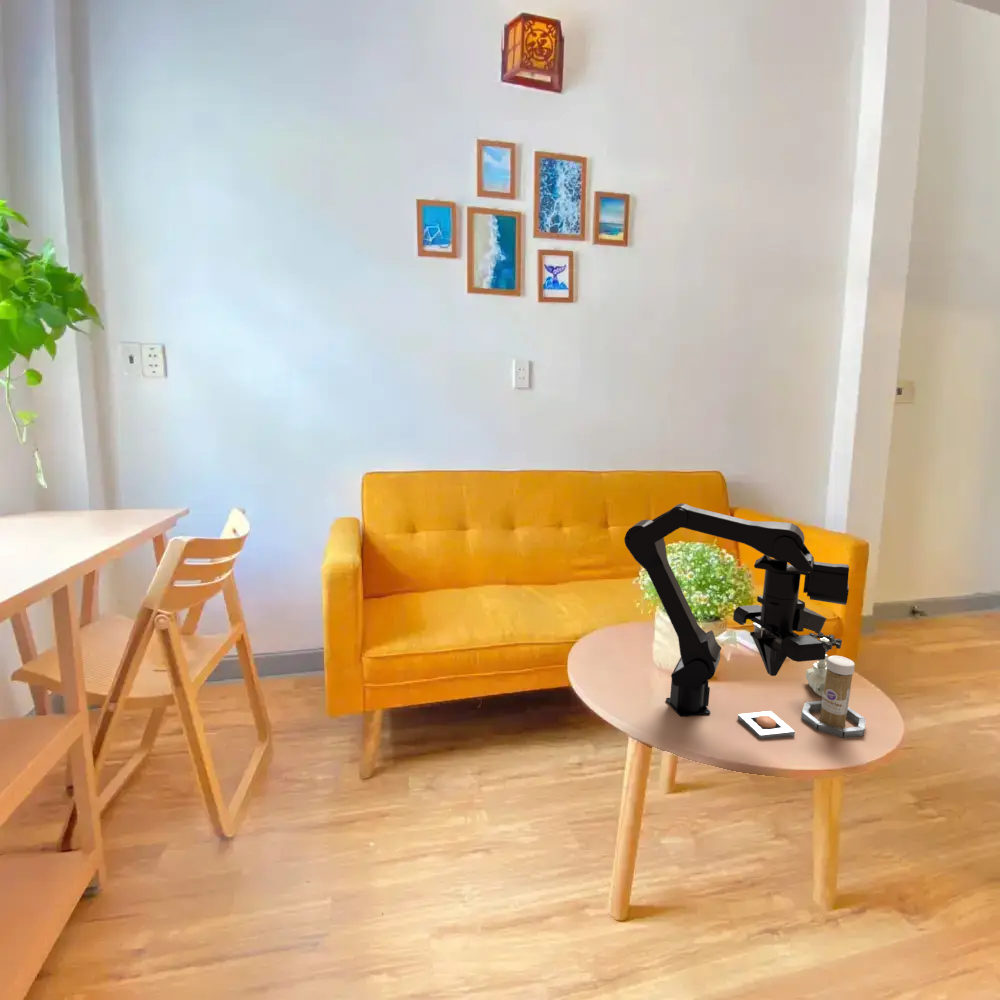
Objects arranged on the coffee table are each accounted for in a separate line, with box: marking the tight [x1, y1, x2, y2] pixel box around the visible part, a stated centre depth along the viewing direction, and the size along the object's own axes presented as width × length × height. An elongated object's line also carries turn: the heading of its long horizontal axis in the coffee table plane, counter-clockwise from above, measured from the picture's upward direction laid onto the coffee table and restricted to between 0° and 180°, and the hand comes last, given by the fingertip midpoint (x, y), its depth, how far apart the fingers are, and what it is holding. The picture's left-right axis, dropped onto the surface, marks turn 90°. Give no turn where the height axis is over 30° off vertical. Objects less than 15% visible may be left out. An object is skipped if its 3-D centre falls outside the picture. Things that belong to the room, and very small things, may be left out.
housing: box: [737, 710, 796, 740], centre depth 112 cm, size 7×7×2 cm
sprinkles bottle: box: [818, 655, 856, 729], centre depth 114 cm, size 5×5×14 cm
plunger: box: [755, 716, 776, 730], centre depth 112 cm, size 3×3×2 cm
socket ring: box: [800, 700, 866, 739], centre depth 115 cm, size 10×10×2 cm
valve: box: [805, 631, 843, 698], centre depth 127 cm, size 7×7×12 cm
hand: (771, 674), depth 110 cm, fingers closed
